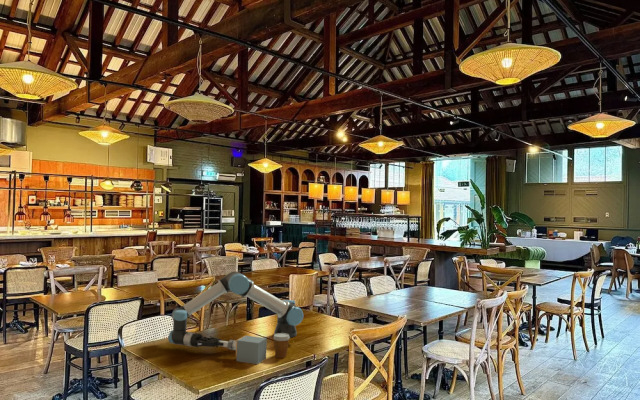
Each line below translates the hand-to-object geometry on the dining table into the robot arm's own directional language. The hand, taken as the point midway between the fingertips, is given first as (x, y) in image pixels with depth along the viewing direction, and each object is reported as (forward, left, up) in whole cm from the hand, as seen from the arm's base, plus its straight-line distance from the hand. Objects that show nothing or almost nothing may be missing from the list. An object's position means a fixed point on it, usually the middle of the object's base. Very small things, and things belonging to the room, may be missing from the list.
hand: (229, 344), depth 249 cm
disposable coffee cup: (-29, +2, -7) cm, 30 cm away
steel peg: (-5, +3, -2) cm, 7 cm away
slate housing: (-12, +6, -7) cm, 15 cm away
